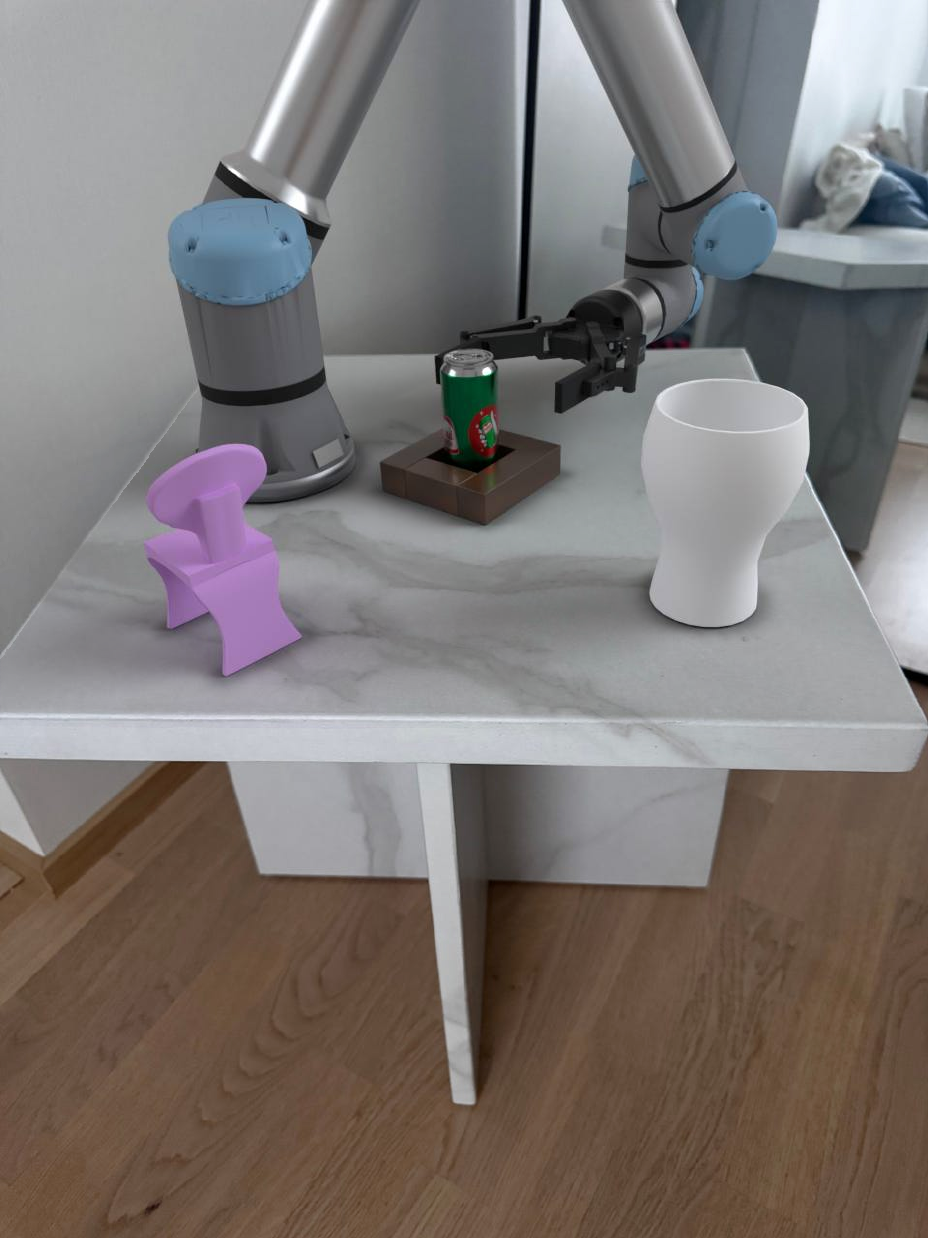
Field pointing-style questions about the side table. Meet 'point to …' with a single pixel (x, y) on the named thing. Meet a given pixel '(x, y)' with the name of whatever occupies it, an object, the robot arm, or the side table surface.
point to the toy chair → (219, 553)
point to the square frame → (471, 476)
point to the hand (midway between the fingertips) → (495, 384)
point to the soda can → (470, 409)
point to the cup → (719, 491)
